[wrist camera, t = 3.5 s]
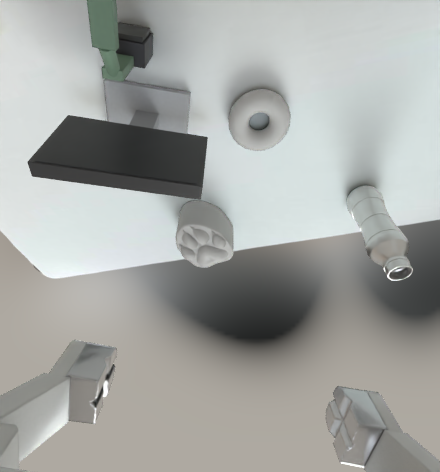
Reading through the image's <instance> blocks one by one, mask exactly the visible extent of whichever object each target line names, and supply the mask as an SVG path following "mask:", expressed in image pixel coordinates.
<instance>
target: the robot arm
mask: <svg viewBox="0 0 440 472" xmlns="http://www.w3.org/2000/svg"><path fill="white" fill-rule="evenodd" d="M116 355H117V348H115V347H110V346H105V345H100V344H95V343H90V342H84V341H79V340H73V341H72V342H71V343H70V344H69V345H68V347H67V348H66V350H65V351H64V352H63V354H62V355H61V357H60V358H59V360H58V361H57V362H56V364H55V365H54V366H53V368H52V369H51V371H50V372H49V373H48V374H47V373H43V374H41V375H39V376H38V377H35V378H33V379H32V380H30V381H28V382H26V383H24V384H22V385H20V386H18V387H16V388H14V389H13V390H10V391H8V392H7V393H5V394H3V395H1V396H0V472H32V471H26V470H19V462H20V461H21V460H23V459H24V458H25V457H26V456H27V455H29V454H30V453H31V452H32V451H34V450H35V449H36V448H37V447H38V446H39V445H41V444H42V443H43V442H44V441H46V440H47V439H48V438H49V437H50V436H52V435H53V434H54V433H55V432H57V431H58V430H59V429H60V428H61V427H63V426H64V425H65V424H66V423H67V422H68V421H74V422H82V423H90V424H95V422H96V420H97V417H98V415H99V413H100V410H101V408H102V405H103V398H104V397H105V396H107V395H108V392H109V390H110V387H111V384H112V381H113V377H114V372H115V366H114V364H113V363H114V361H115V358H116ZM333 395H334V398H335V399H334V400H333V401H331V402H329V404H328V407H327V409H326V423H327V427H328V430H329V432H330V433H331V434H332V435H333V436H334V437H335V440H334V443H333V445H334V447H335V450H336V453H337V456H338V459H339V462H340V463H342V464H347V465H353V466H358V467H363V468H364V470H365V471H366V472H440V461H439V460H438V459H437V458H436V457H434V456H433V455H432V454H431V453H430V452H429V451H427V450H426V449H425V448H424V447H423V446H422V445H420V444H419V443H418V442H417V441H416V440H414V439H413V438H412V437H411V436H410V435H409V434H407V433H403V431H402V430H401V428H400V426H399V425H398V423H397V421H396V420H395V418H394V416H393V414H392V413H391V411H390V409H389V408H388V406H387V404H386V403H385V401H384V399H383V397H382V396H381V395H380V394H379V393H378V392H373V391H367V390H359V389H353V388H347V387H341V386H338V387H336V388H335V390H334V392H333Z"/></svg>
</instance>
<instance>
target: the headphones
mask: <svg viewBox="0 0 440 472" xmlns="http://www.w3.org/2000/svg"><path fill="white" fill-rule="evenodd" d="M87 5H88V14H89V22H90V31H91V39H92V47H96V48H99V51H100V53H101V56H102V59H103V62H104V66H103V67H102V76H103V78H104V79H110V80H116V81H121V82H123V81H124V80H125V78H126V77H127V76H128V74H129V73H130V71H131V70H132V68H133V67H140V68H145V67H146V65H147V64H148V62H149V60H150V59H151V57H152V56H153V33H150V28H145V27H140V26H135V25H129V24H124V23H119V22H117V7H116V0H87Z"/></svg>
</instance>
